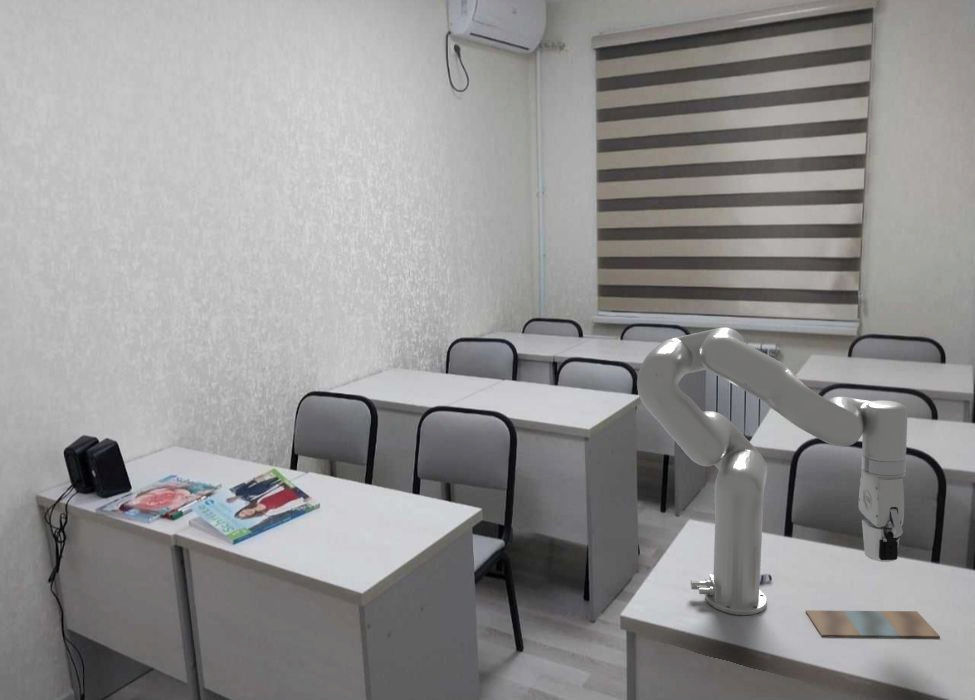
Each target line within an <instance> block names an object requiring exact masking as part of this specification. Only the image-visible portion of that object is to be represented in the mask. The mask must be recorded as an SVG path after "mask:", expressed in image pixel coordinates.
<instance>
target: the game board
mask: <svg viewBox="0 0 975 700" xmlns="http://www.w3.org/2000/svg"><path fill="white" fill-rule="evenodd" d="M805 614H806V615H807V616H808V618H809V620H810V621H811V623H812V624H813V626H814V627H815V629H816V630H817V632H818V634H819V635H820V636H821V637H822V638H831V637H832V638H909V639H910V638H913V639H915V638H916V639H918V638H919V639H922V638H924V639H928V638H929V639H940V638H941V637H940V634H938V632H937V631H936V630H935V629H934V628H933V627H932V626H931V625H930V623H928V621H926V619H925V618H924V617H923V616H922V615H921V613H919V612H918V611H916V610H913V611H912V610H911V611H910V610H909V611H908V610H907V611H906V610H905V611H904V610H902V611H901V610H899V611H898V610H813V609H812V610H805Z"/></svg>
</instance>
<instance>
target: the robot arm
mask: <svg viewBox="0 0 975 700" xmlns="http://www.w3.org/2000/svg"><path fill="white" fill-rule="evenodd" d="M701 371H709V372H710V373H712V374H713V375H715V376H717V377H719V378H721V379H723V381H726V382H728V383H730V384H732V385H733V386H736V387H737V388H739V389H741V390H742V391H745V392H747V393H748V394H750V395H751V396H754V397H755V398H756V399H757V398H758V399H759V400H761V401H762V402H763V403H765V404H766V405H767V406H768V407H770V409H772V410H773V411H775V412H776V413H777V414H779V415H781V416H782V417H783V418H785V420H787V421H788V422H790V423H791V424H793V425H794V426H796V427H797V428H799V429H800V430H802V431H804V432H806V433H808V434H809V435H811V436H813V437H815V438H817V439H818V440H821V441H822V442H825V443H826V444H829V445H831V446H835V447H840V448H841V447H842V448H843V447H850V446H852V445H854V444H856V443H857V442H858V441H859V440H860V439H861V438H862V441H861V442H862V443H861V445H862V448H861V474H860V480H859V490H858V491H859V492H858V510H859V512H860V513H861V514H862V515H863V516H864V518H865V517H866V518H867V519H868V520H869V521H870V522H871V523H873V524H874V525H875V526H876V527H880V528H881V537H882V540H880V541H879V558H880V559H881V560H894V561H896V560H897V559H898V553H899V552H898V550H899V545H898V542H900V537H901V536H902V535H903V534H904V531H903V530H904V529H903V525H904V515H905V493H904V482H903V481H904V480H903V477H905V476H906V469H907V467H906V463H907V462H906V461H907V441H908V440H907V439H908V438H907V435H908V409H907V407H906V406H905V405H904V404H903V403H900V402H898V401H894V400H886V399H885V400H882V399H881V400H880V399H879V400H867V399H866V400H865V399H859V398H853V397H847V396H834V397H831V398H829V399H827V398H825V397H824V396H822V395H820V394H818V393H817V392H815V391H814V390H813V389H811V388H809V387H808V385H806V384H804V383H803V381H801V380H800V379H799V378H798V376H797V375H796V374H795V373H794V371H793V370H792V369H791V368H790V367H789V366H788V365H786V364H785V363H784V362H783V361H782V362H781V361H780V360H777V359H775V358H774V357H772V356H770V355H768V354H766V353H764V351H761V350H759V349H756V347H753V346H752V345H749V344H748V343H746V341H745V339H744V337H743V335H742V334H741V333H739V332H738V331H737V330H736V329H733V328H729V327H719V328H718V327H717V328H713V329H707V330H704V331H700V332H696V333H692V334H691V333H690V334H687V335H681V336H676V337H673V338H669V339H666V340H664V341H662V342H661V343H659V344H658V345H657V346H656V347H654V348H653V349H652V350H651V351H650V352H649V353H648V354H647V355H646V356H645V358H644V359H643V361H642V363H641V365H640V368H639V371H638V374H637V379H636V380H637V381H636V386H637V393H638V396H639V399H640V401H641V403H642V405H644V407H645V409H646V410H647V411H648V413H650V415H652V417H653V418H654V419H655V420H656V421H657V422H658V423H659V424H660V426H661V427H662V428H663V429H664V430H665V431H666V433H667V435H669V437H670V438H672V439H673V441H674V442H675V443H676V444H677V445H678V446H679V447H680V448H681V450H682V451H683V452H684V453H685V455H686V456H687V457H688V458H689V459H690V460H691V461H692V462H694V463H695V464H697V465H699V466H702V467H712V466H714V467H715V468H716V469H717V470H718V471H717V475H716V479H715V483H714V509H715V510H714V545H713V572H712V573H713V574H709V579H708V578H706V579H704V580H699V579H698V580H697V579H695V580H693V579H692V580H690V590H698V594H699V595H705V599H706V601H707V603H708V604H709V605H710V606H712V607H713V608H715V609H716V610H718V611H721V612H723V613H727V614H731V615H737V616H751V615H752V616H753V615H755V614H758V613H761V612H762V611H764V610H765V609H766V607H767V601H768V599H767V597H766V594H765V593H764V592H762V590H761V589H760V583H761V565H762V564H761V561H762V542H763V541H762V539H763V538H762V537H763V518H764V516H763V513H764V495H765V487H766V483H767V482H766V480H767V475H768V467H767V463H766V460H765V459H764V457H763V456H762V454H761V453H760V452H759V451H758V449H757V448H756V447H755V446H754V445H753V444H752V443H751V442H750V441H749V440H748V438H746V437H745V435H744V434H743V433H742V432H741V431H740V430H739V428H738V427H736V425H735V424H733V422H732V421H731V420H730V419H729V418H727V416H724V415H723V414H721V413H719V412H716V411H713V410H708V411H707V410H706V411H702V409H701V408H700V407H699V406H698V405H697V403H696V402H695V401H694V400H693V399H692V398H691V397H690V396H689V395H688V394H686V393H685V392H684V391H683V390H681V388H680V385H679V383H680V382H681V379H683V377H684V376H686V375H687V374H690V373H691V374H692V373H696V372H701ZM887 522H891V525H886V523H887ZM886 528H892V530H891V531H890V532H888V533H887V534H886Z"/></svg>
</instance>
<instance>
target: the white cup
mask: <svg viewBox="0 0 975 700" xmlns="http://www.w3.org/2000/svg"><path fill="white" fill-rule="evenodd" d="M886 525H891V522H887V523H886ZM861 526H862V527H861V528H862V538H863V539H862V540H863V550H864V555H865V557H867V558H868V559H870V560H871V561H876V562H883V563H889V562H894V561H895V560H881V559H880V558H879V541H880V540H882V537H881V528H880V527H876V526H875V525H874V524H873V523H871V522H870V521H869V520H868V519H867V518H866V517H865V516H864V517H863V518H862V520H861ZM891 530H892V528H886V534H887V533H888V532H890V531H891ZM899 542H900V541H899ZM899 542H898V546H899V544H900V543H899Z"/></svg>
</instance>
